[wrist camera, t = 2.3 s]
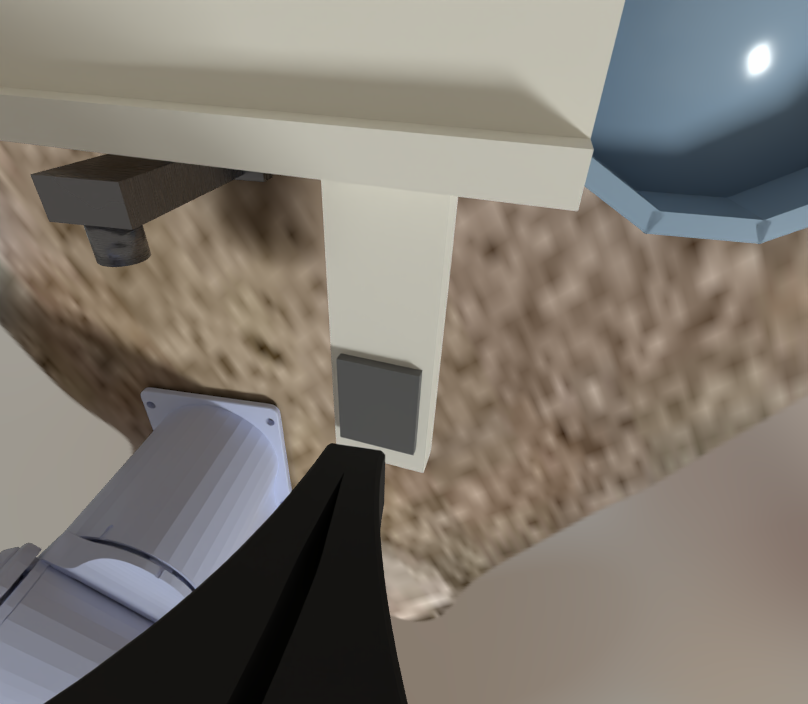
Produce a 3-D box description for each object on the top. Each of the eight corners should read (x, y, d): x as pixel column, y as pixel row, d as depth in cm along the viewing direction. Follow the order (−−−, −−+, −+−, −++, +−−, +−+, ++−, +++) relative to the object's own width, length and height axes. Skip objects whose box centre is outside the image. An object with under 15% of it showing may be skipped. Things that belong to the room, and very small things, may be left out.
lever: (505, 469, 15) (494, 544, 12) (-42, 332, 20) (-119, 368, 18) (753, -537, 5) (895, -992, 3) (-417, -295, 10) (-688, -393, 8)
